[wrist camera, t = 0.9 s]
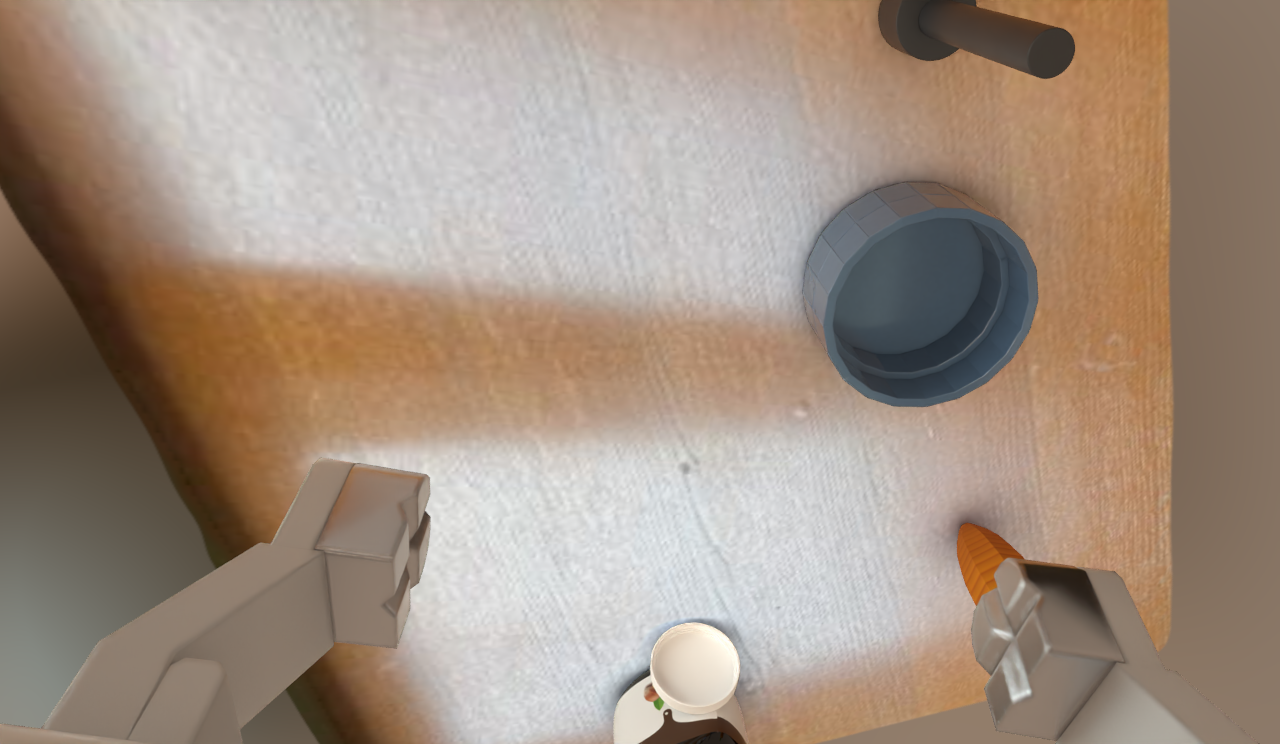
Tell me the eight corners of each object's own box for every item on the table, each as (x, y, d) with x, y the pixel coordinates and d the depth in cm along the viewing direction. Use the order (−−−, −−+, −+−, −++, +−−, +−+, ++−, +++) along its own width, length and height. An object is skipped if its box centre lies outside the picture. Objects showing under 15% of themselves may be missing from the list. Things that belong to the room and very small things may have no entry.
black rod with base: (885, -33, 50) (1013, -8, 36) (962, -29, 51) (1118, -2, 36) (872, 50, 52) (987, 106, 38) (945, 54, 53) (1087, 110, 38)
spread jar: (639, 741, 77) (649, 871, 67) (579, 655, 72) (581, 780, 62) (768, 692, 75) (800, 816, 65) (717, 599, 70) (742, 719, 60)
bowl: (816, 175, 55) (842, 204, 50) (1016, 183, 56) (1063, 211, 51) (789, 362, 61) (810, 405, 56) (971, 365, 62) (1008, 408, 57)
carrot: (919, 533, 69) (1002, 684, 56) (964, 487, 67) (1061, 632, 54) (964, 561, 70) (1057, 713, 57) (1010, 517, 69) (1116, 663, 55)
